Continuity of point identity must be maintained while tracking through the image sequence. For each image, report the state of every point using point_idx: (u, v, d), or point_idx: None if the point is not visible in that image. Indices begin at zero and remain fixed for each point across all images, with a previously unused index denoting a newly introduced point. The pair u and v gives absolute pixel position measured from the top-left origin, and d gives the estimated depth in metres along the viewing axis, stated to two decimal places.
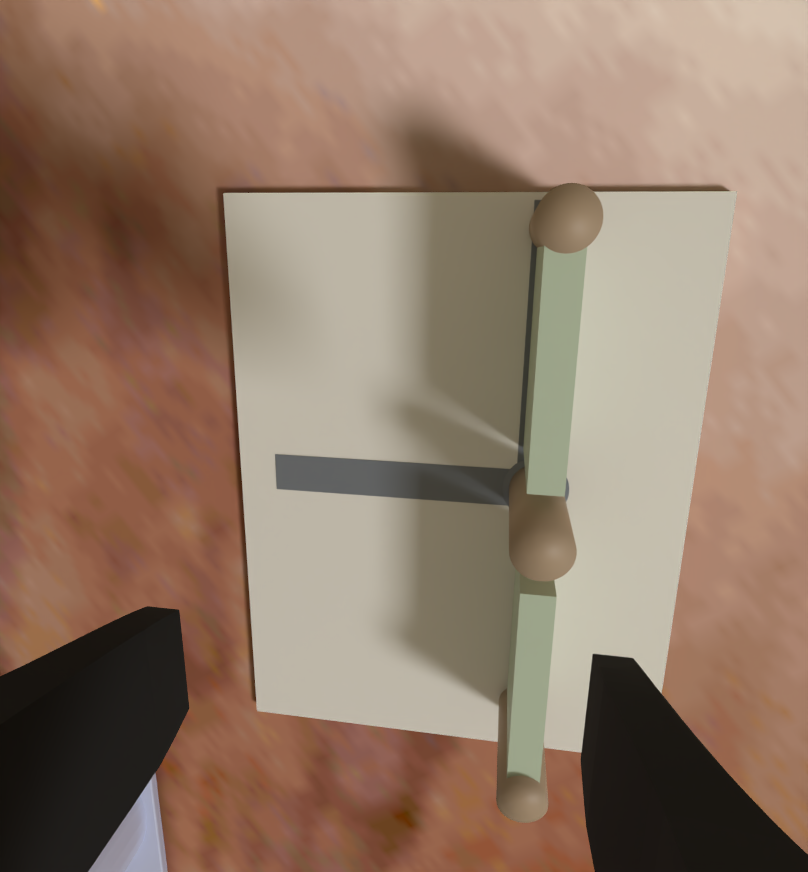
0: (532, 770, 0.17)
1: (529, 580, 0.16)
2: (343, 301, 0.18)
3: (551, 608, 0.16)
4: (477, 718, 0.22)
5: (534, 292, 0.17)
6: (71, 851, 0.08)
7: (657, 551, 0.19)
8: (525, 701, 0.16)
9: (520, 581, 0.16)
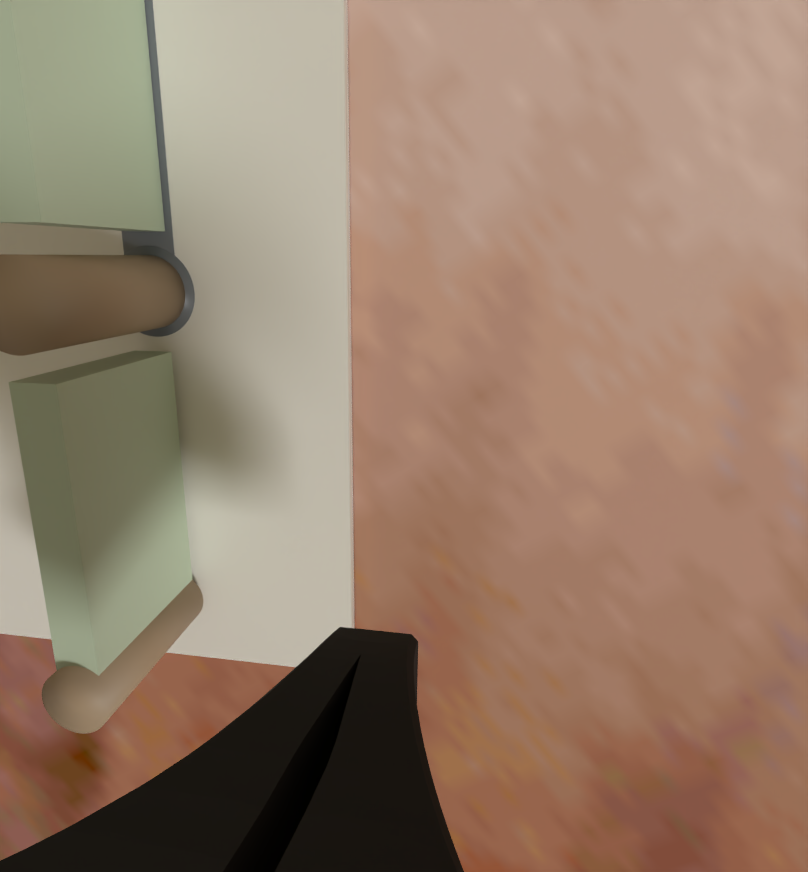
0: (85, 657, 0.12)
1: (51, 375, 0.11)
2: None
3: (54, 403, 0.11)
4: None
5: None
6: None
7: (316, 375, 0.14)
8: (53, 552, 0.11)
9: (37, 376, 0.11)
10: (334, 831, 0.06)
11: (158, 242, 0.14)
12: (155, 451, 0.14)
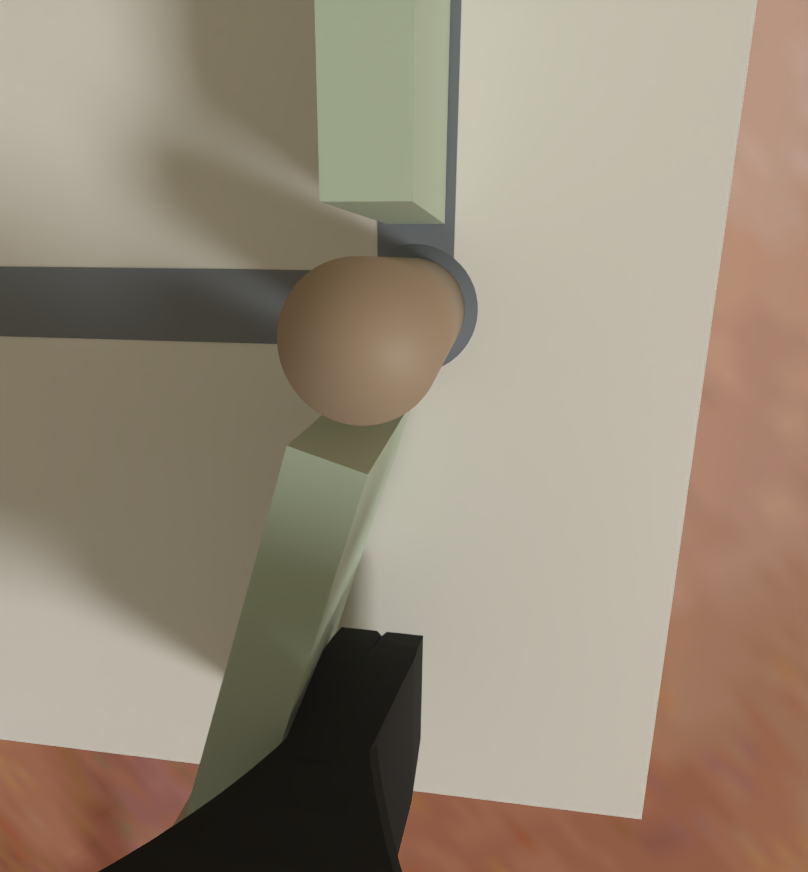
0: None
1: (327, 435, 0.07)
2: None
3: (349, 499, 0.07)
4: None
5: None
6: None
7: (648, 427, 0.10)
8: (248, 694, 0.07)
9: (306, 431, 0.07)
10: (274, 822, 0.06)
11: (432, 239, 0.10)
12: (364, 534, 0.10)
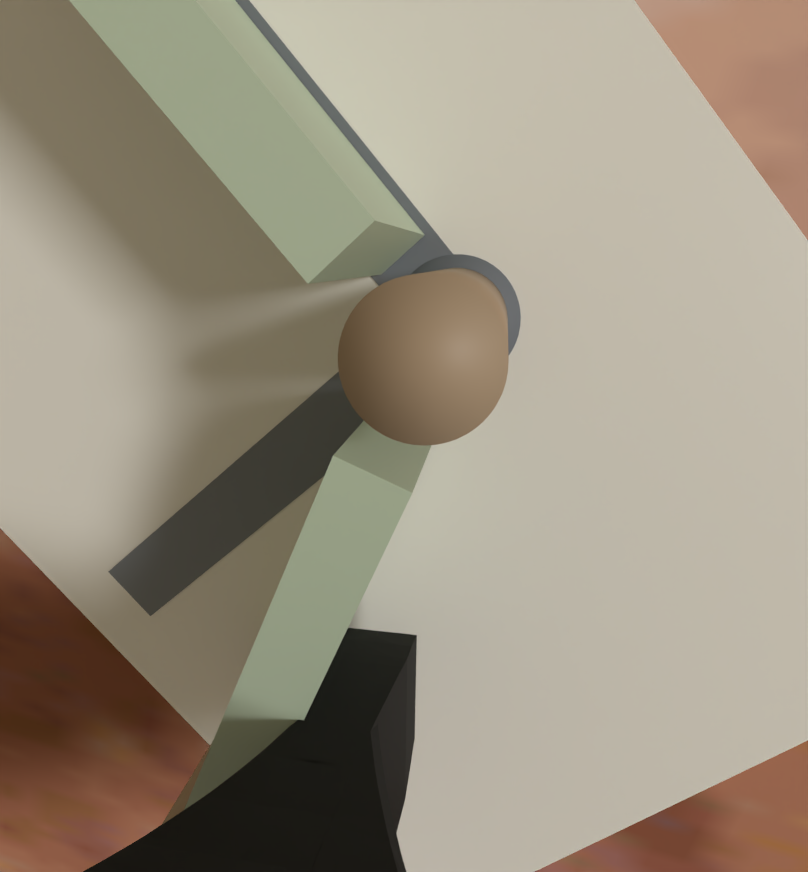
0: None
1: (369, 446, 0.07)
2: None
3: (390, 515, 0.06)
4: (702, 744, 0.11)
5: None
6: None
7: (737, 244, 0.09)
8: (262, 696, 0.07)
9: (349, 440, 0.07)
10: (278, 822, 0.06)
11: (425, 255, 0.10)
12: None
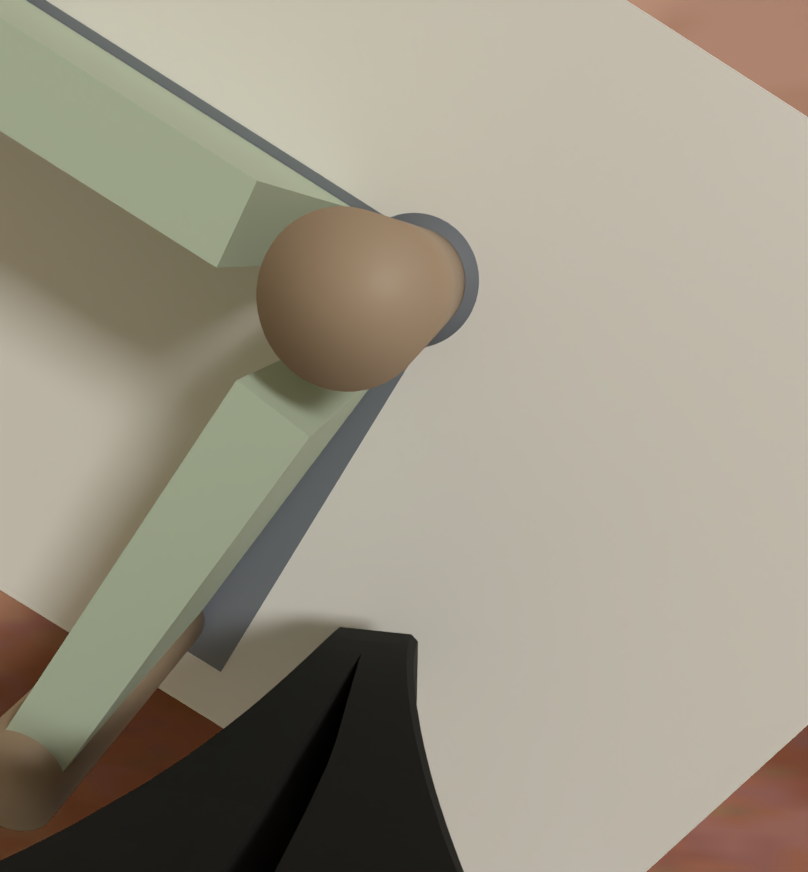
0: (61, 743, 0.08)
1: (282, 382, 0.07)
2: None
3: (283, 455, 0.06)
4: None
5: None
6: None
7: (669, 105, 0.08)
8: (118, 613, 0.07)
9: (262, 371, 0.07)
10: (334, 831, 0.06)
11: None
12: (290, 487, 0.09)
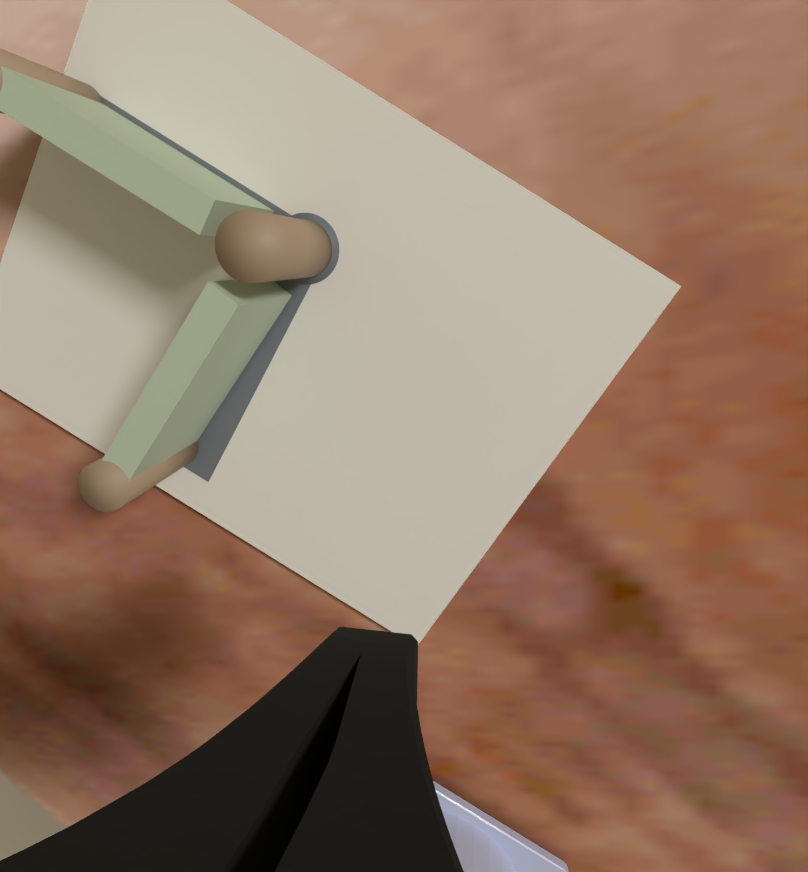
0: (128, 465, 0.16)
1: (229, 287, 0.15)
2: (76, 325, 0.20)
3: (228, 314, 0.15)
4: (530, 443, 0.19)
5: None
6: None
7: (423, 158, 0.17)
8: (157, 393, 0.16)
9: (220, 282, 0.15)
10: (334, 831, 0.06)
11: None
12: (242, 355, 0.18)
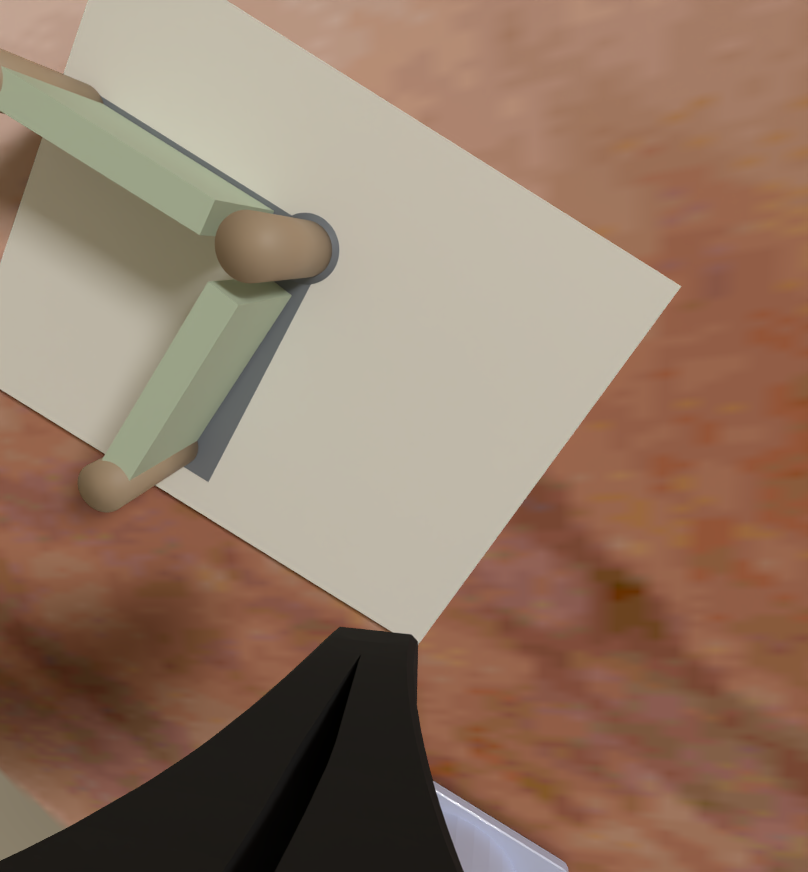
0: (128, 465, 0.16)
1: (229, 287, 0.15)
2: (76, 325, 0.20)
3: (228, 314, 0.15)
4: (530, 443, 0.19)
5: None
6: None
7: (423, 158, 0.17)
8: (157, 393, 0.16)
9: (220, 282, 0.15)
10: (334, 831, 0.06)
11: None
12: (242, 355, 0.18)
